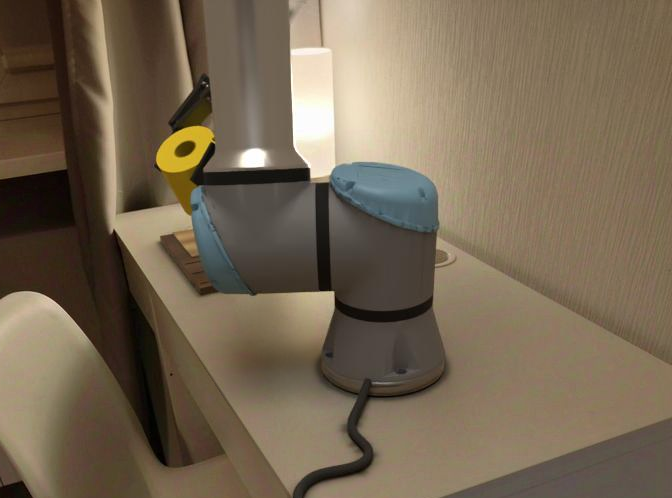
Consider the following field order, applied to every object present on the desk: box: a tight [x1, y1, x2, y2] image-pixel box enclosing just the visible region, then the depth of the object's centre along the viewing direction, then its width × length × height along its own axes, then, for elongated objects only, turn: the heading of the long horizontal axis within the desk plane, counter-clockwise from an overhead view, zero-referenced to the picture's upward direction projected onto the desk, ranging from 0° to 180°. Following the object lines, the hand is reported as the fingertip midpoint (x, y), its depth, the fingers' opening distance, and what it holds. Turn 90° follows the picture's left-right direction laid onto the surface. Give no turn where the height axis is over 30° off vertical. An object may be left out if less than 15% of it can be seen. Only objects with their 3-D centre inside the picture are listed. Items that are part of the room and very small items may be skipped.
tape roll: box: [155, 125, 215, 217], centre depth 118 cm, size 10×10×9 cm
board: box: [159, 228, 219, 296], centre depth 122 cm, size 26×17×1 cm, turn 23°
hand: (178, 178), depth 115 cm, fingers closed on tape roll, 10 cm apart
